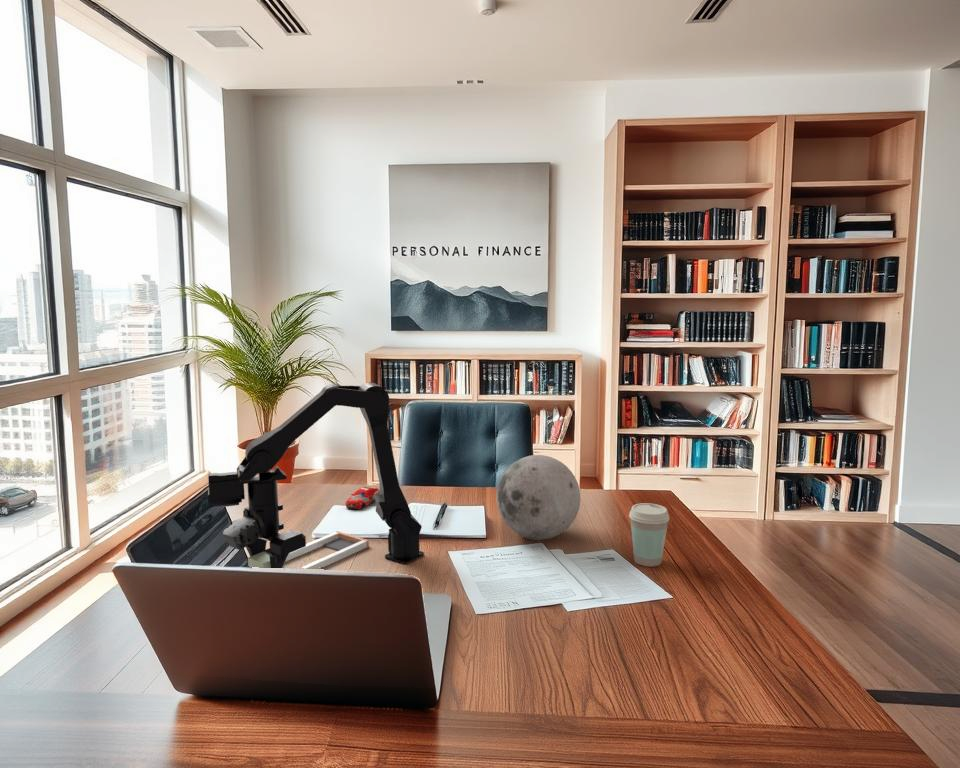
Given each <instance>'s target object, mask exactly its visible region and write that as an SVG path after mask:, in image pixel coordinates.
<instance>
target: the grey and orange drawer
mask: <svg viewBox="0 0 960 768" xmlns="http://www.w3.org/2000/svg"><path fill="white" fill-rule="evenodd" d="M335 532H336V533H339V538H338V539H336V540H334V541H331V542H329V543H327V544H324V545H323V546H322V547H325V548H329V549H332V550H335V551H336V552H337V551H339V550H342V549H344V548H346V547H348V546H351V545H353V544H355V543H358V542H360V541H362V540H363V541H366V548H365V549H367V548H369V546H370V543H369V542H370V541H369V540H368V539H365V538H363V537H359V536H355V535H352V534H348V533H346V532H342V531H335Z"/></svg>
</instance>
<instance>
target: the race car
mask: <svg viewBox="0 0 960 768" xmlns="http://www.w3.org/2000/svg"><path fill="white" fill-rule="evenodd" d="M379 490H380V488H378V487H373V486H372V487H371V486H363V487H360V488H359V489H357V490H356V491H354V492H353V493H351V494H350V495H351V496H350V497H349V498H347V500H346V501H345V508H347V509H350V510H363V509H365V508H366V507H367V506H368V505H371V504H372V503H373V502H375V500H374V497H373V495H377V494H379Z"/></svg>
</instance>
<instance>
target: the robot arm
mask: <svg viewBox="0 0 960 768" xmlns="http://www.w3.org/2000/svg"><path fill="white" fill-rule="evenodd" d="M336 406H338V407H339V406H342V407H349V408H357V409H360V412H361V414H362V416H363V418H364V420H365V423H366V425H367V427H368V432H369V437H370V442H371V447H372V452H373V453H372V454H373V458H374V463H375V467H376V468H375V469H376V472H377V477H378V478H377V479H378V484H379V494H377V495H373V497H374V500H375V501H374V503H375V512H376V514H377V515H378V517H379V518H380V519H381V520H382V521H384V523H385V524H386V525H387V526H388V527H389V529H388V534H387V544H388V547H387V549H388V553H386V554H385V555H384V558H385V559H388V560H391V561H394V562H398V563H401V564H405V565H407V564H409V563H410V562H413V561H415V560H416V559H418V558H420V557H423V556H424V555H425V552H424V551H421V550H420V534H421V530H422V524H421V523H420V522H419V521H418V520H417V518H415V517H414V516H413V515H412V511H411V509H410V507H409V505H408V502H407V500H406V496H405V495H404V493H403V491H402V488H401V486H400V482H399V477H398V473H397V468H396V467H397V466H396V463H395V456H394V451H393V446H392V441H391V436H390V430H389V418H390V417H389V416H390V396H389V392H388V391H387V390H386V389H385V388H384V387H382V386H381V385H379V384H377V383H375V382H372V381H371V382H365V383H362V384H361V385H335V384H327V385H325V386H323V388H322V389H321V391H319V392H318V393H317V394H316V395H315V396H314V397H312V398H311V399H310V400H309V401H308V402H307V403H306V404H304V405H303V406H302V407H300V408H299V409H298V410H296V411H295V413H293V414H292V415H291V416H290V417H289V418H287V420H285V421H283V423H282V424H280V425H279V426H277V427H276V428H274V429H271V430H270V431H267V432H265V433H263V434H261V435H260V436H258V437H257V438H255V439H253V440H251V441H250V442H249V443H248V445H247V446H246V448H245V453H244V454H245V456H244V458H243V459H242V461H241V462H240V463H239V465H238V466H237V468H236V471H232V472H231V471H230V472H229V471H228V472H221V473H219V472H210V473H208V475H207V478H208V487H207V488H209V489H207V499H208V504H209V503H210V504H211V505H213V507H217V509H218V508H226V507H234V506H240V503H242V502H243V500H245V499H246V495H245V484H247V497H248V498H247V501H248V506H247V507H244V508H243V512H242V513H243V514H242V515H243V516H242V517H241V518H239V519H236V520H233V521H231V522H232V525H230V526H229V527H228V528H226V527H225V529H224V530H223V531H224V532H223V531H222V532H223V534H222V536H223V535H224V536H223V538H224V537H225V538H226V540H227V542H228V543H229V545H230V548H231V547H232V548H234V549H236V550H244V549H246V550H247V551H246V552H247V553H248V554H249V557H251V556H253V555H256V554H259V553H261V552H265V553H266V554H268V555H269V557H270V564H271V568H282V567H283V565H284V566H285V563H286V562H285V560H286V558H287V556H288V554H289V553H291V552H293V551H296V550H298V549H301V548H303V547H305V546H306V544H307V540H306V539H307V537H306V535H304V534H303V533H302V532H299V531H295V530H293V529H290V530H287V531H284V532H282V533H279V532H280V531H281V530H284V528H285V524H284V523H282V522H280V511H282V510H284V506H283V504H282V503H279V494H278V493H279V492H278V481H282V480H287V478H288V477H287V474H286V472H285V471H283V470H282V469H281V468H280V467H279V466H278V465H277V464H278V462H280V460H281V459H282V458H283V456H284V455H285V454H286V452H287V451H288V449H289V448H290V447H291V445H292V444H293V442H294V441H296V440H297V439H298V438H299V437H301V436H302V435H303V434H304V433H305V432H306V431H308V430H309V429H310V428H312V426H314V425H315V424H316V423H317V422H319V421H320V420H321V419H322V418H323V417H324V416H325V415H326V414H327V413H329V412H330V411H331V410H332V409H334V408H335V407H336ZM225 538H224V539H225ZM226 540H225V541H226ZM268 541H269V548H267V543H268ZM266 548H267V549H266Z"/></svg>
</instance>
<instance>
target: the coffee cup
mask: <svg viewBox="0 0 960 768" xmlns="http://www.w3.org/2000/svg"><path fill="white" fill-rule="evenodd" d="M628 517H629V518H630V527H631V528H630V530H631V541H632V550H633V560H634V562H635V564H637V565H641V566H643V567H657V566H660V565H661V564H662V560H663V555H664V548H665V542H666V535H667V530H668V523H669V521H670V514H669V512H668V509H667V507H666V506H663V505H661V504H656V503H652V502H651V503H649V502H647V503H646V502H643V503H636V504H634V505H632V506H631V509H630V511H629V514H628Z"/></svg>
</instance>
